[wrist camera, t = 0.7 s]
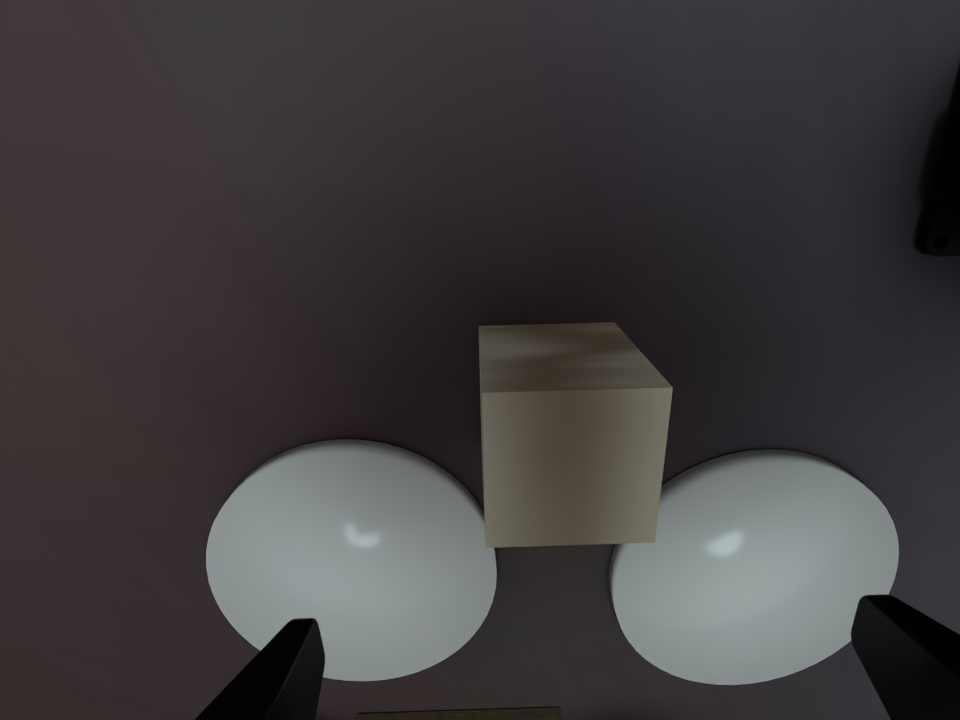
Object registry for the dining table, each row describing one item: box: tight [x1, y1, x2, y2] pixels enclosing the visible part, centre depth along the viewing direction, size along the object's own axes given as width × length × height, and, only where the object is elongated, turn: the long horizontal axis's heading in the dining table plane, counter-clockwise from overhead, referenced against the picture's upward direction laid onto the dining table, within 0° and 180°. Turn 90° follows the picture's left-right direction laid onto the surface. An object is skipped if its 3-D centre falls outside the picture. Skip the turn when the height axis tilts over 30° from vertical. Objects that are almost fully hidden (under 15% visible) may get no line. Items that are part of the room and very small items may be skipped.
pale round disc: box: [206, 439, 497, 681], centre depth 23 cm, size 12×12×1 cm
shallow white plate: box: [609, 449, 899, 685], centre depth 23 cm, size 12×12×1 cm
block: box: [479, 322, 673, 548], centre depth 18 cm, size 5×5×6 cm
